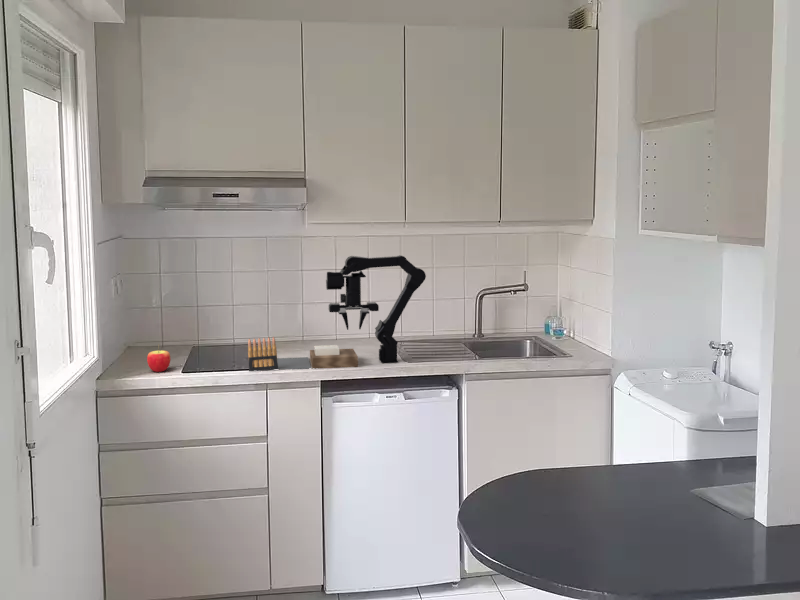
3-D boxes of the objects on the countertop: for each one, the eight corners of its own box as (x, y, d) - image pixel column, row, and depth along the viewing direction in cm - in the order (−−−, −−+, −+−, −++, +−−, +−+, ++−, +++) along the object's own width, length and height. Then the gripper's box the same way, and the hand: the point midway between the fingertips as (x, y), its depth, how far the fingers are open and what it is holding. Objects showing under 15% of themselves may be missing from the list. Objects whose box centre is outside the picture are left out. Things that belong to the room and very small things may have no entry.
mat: (308, 358, 324) (308, 357, 324) (311, 368, 305) (311, 367, 305) (272, 359, 322) (272, 358, 322) (273, 370, 302) (273, 369, 302)
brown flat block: (353, 358, 323) (352, 348, 323) (357, 366, 308) (357, 356, 307) (310, 360, 320) (309, 350, 320) (312, 368, 305) (312, 358, 304)
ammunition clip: (278, 367, 304) (275, 336, 303) (278, 368, 303) (275, 336, 301) (249, 370, 303) (246, 338, 301) (248, 371, 301) (246, 339, 299)
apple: (172, 368, 306) (171, 342, 305) (169, 373, 298) (168, 346, 296) (149, 369, 305) (148, 342, 304) (146, 374, 297) (144, 347, 295)
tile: (337, 351, 317) (337, 345, 317) (339, 354, 310) (339, 348, 310) (314, 352, 316) (314, 345, 315) (315, 355, 309) (315, 349, 309)
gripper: (374, 286, 321) (374, 325, 323) (327, 287, 318) (327, 326, 320) (378, 289, 310) (378, 330, 312) (329, 290, 307) (330, 331, 309)
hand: (353, 329), depth 314 cm, fingers open, 4 cm apart
